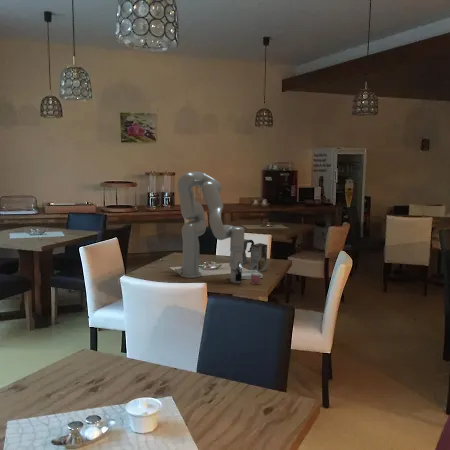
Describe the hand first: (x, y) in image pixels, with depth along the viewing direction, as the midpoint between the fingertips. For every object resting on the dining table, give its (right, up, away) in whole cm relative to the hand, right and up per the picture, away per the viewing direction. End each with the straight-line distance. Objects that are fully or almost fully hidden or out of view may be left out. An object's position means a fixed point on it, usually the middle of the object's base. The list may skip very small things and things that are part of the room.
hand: (235, 278), depth 286 cm
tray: (+8, 0, +13) cm, 15 cm away
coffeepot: (+5, +5, +48) cm, 49 cm away
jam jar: (+11, -3, -2) cm, 11 cm away
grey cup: (0, -2, 0) cm, 2 cm away
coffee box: (+14, +2, +29) cm, 33 cm away
